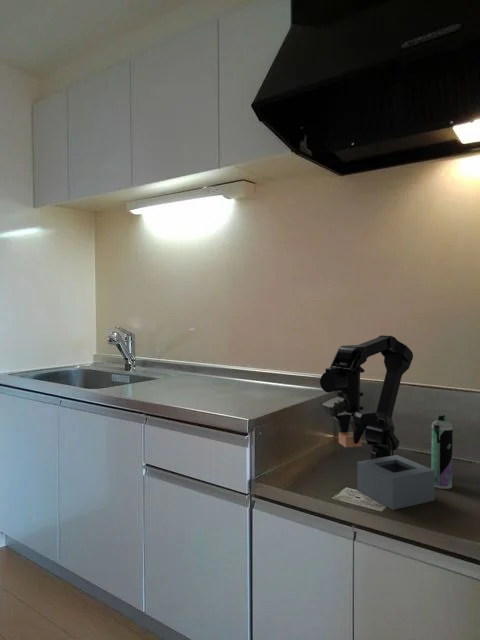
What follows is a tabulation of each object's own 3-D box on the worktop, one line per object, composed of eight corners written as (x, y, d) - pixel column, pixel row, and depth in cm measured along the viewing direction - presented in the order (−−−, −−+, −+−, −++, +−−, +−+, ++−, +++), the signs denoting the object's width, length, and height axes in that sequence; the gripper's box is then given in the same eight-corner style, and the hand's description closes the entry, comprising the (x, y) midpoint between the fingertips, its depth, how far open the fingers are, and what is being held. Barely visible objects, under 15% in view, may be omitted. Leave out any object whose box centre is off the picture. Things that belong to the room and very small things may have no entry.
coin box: (396, 482, 137) (396, 454, 137) (434, 500, 125) (434, 470, 124) (357, 490, 132) (357, 461, 132) (392, 510, 119) (392, 478, 119)
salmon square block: (354, 441, 144) (354, 431, 144) (361, 446, 139) (361, 436, 139) (338, 442, 143) (338, 432, 143) (345, 447, 138) (345, 437, 138)
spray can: (450, 490, 131) (451, 418, 131) (429, 486, 134) (430, 416, 134) (453, 484, 136) (454, 414, 135) (433, 480, 139) (433, 412, 138)
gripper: (310, 385, 146) (310, 436, 147) (346, 396, 129) (346, 453, 129) (340, 383, 150) (340, 432, 151) (379, 393, 133) (379, 448, 134)
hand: (350, 440), depth 141 cm, fingers closed on salmon square block, 5 cm apart
